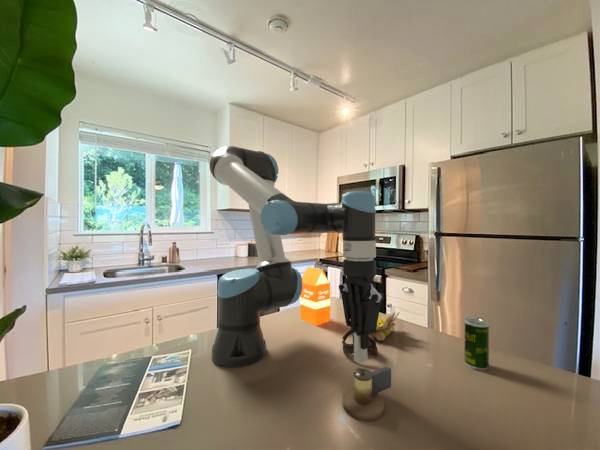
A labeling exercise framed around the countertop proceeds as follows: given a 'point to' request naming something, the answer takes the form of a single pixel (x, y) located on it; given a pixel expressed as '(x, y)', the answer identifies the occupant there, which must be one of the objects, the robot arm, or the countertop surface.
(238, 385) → the countertop surface
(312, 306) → the orange juice
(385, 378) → the knob
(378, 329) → the decorative flower
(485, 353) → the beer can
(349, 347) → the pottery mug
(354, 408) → the dial base
